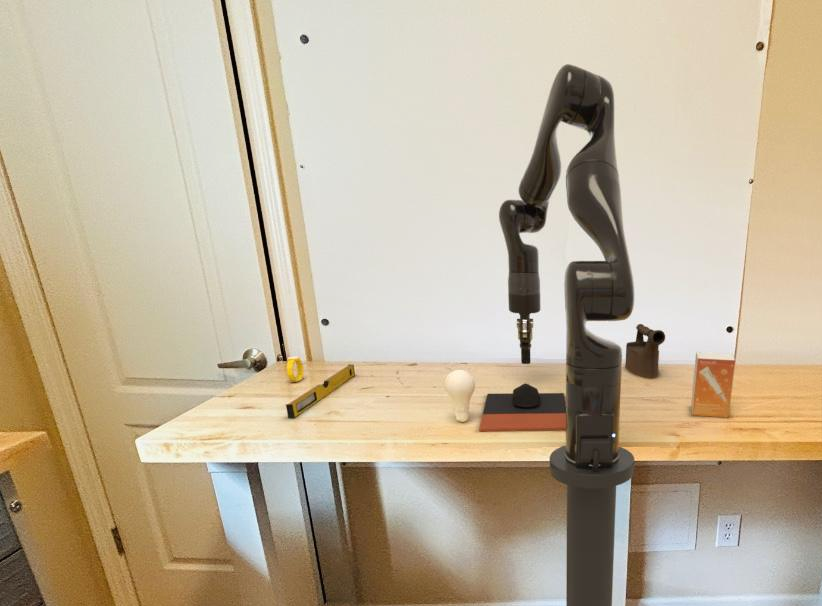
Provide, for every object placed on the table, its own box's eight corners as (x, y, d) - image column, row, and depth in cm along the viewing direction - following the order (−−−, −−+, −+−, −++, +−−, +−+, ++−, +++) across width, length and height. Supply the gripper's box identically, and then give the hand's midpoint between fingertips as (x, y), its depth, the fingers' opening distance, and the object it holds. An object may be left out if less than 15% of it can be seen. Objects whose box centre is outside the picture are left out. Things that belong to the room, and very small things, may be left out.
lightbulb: (483, 420, 127) (480, 369, 123) (463, 428, 122) (459, 375, 118) (461, 415, 130) (458, 365, 126) (441, 422, 125) (436, 371, 121)
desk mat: (569, 430, 123) (569, 427, 123) (479, 431, 121) (479, 428, 121) (563, 395, 145) (563, 392, 145) (487, 395, 143) (487, 393, 143)
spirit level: (350, 375, 156) (348, 364, 155) (355, 375, 156) (353, 364, 155) (288, 418, 126) (285, 404, 124) (294, 418, 126) (292, 404, 124)
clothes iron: (640, 382, 157) (642, 330, 152) (624, 366, 171) (625, 319, 166) (669, 381, 159) (672, 330, 154) (650, 365, 173) (653, 318, 168)
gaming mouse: (537, 390, 146) (536, 373, 145) (541, 409, 133) (541, 391, 131) (510, 390, 145) (510, 374, 144) (512, 410, 132) (512, 392, 130)
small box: (692, 416, 133) (697, 357, 128) (690, 407, 139) (695, 351, 134) (729, 418, 132) (735, 359, 127) (726, 409, 138) (732, 352, 133)
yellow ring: (297, 384, 148) (293, 360, 146) (286, 384, 148) (281, 360, 146) (307, 377, 154) (303, 354, 151) (296, 377, 154) (292, 354, 151)
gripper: (540, 295, 137) (541, 370, 143) (540, 287, 149) (541, 356, 155) (507, 295, 136) (509, 370, 142) (509, 287, 148) (511, 356, 155)
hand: (526, 363), depth 149 cm, fingers closed
